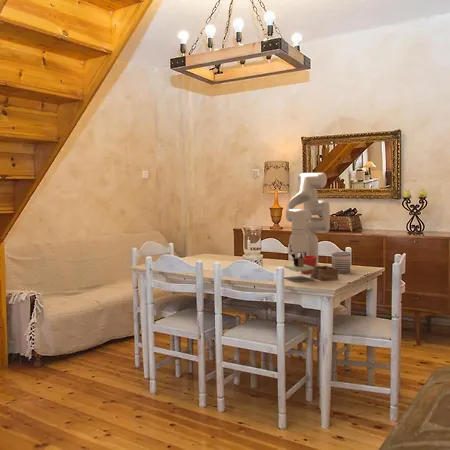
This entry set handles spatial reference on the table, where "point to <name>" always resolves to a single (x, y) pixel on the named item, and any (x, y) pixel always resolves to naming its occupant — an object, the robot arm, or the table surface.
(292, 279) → the mat
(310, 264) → the flower pot
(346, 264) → the can
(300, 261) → the lid
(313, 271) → the box
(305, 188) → the robot arm
